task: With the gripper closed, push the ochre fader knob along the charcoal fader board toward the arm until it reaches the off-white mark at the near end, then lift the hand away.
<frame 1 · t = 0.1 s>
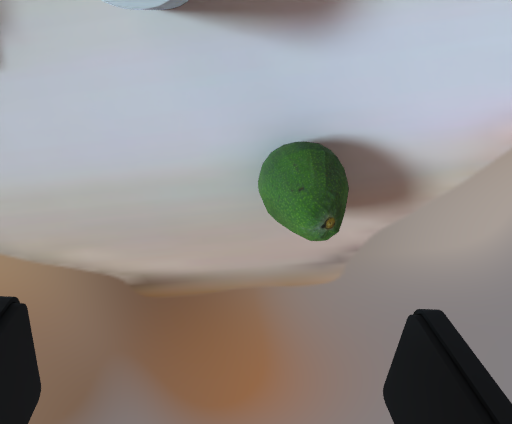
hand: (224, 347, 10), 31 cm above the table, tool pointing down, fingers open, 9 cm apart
avocado: (293, 166, 42), on the table
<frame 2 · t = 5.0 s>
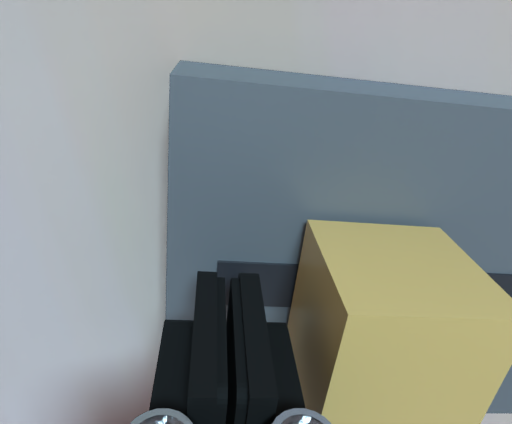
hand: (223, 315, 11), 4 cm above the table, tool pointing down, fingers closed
fader knob: (378, 339, 11), point 5 cm above the table, slide at 0.9 cm, touching gripper
fader board: (451, 246, 16), on the table
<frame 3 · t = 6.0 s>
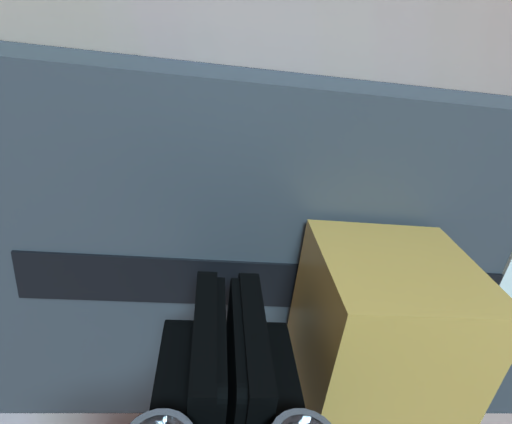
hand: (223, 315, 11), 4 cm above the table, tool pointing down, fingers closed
fader knob: (378, 339, 11), point 5 cm above the table, slide at 6.7 cm, touching gripper
fader board: (312, 239, 16), on the table
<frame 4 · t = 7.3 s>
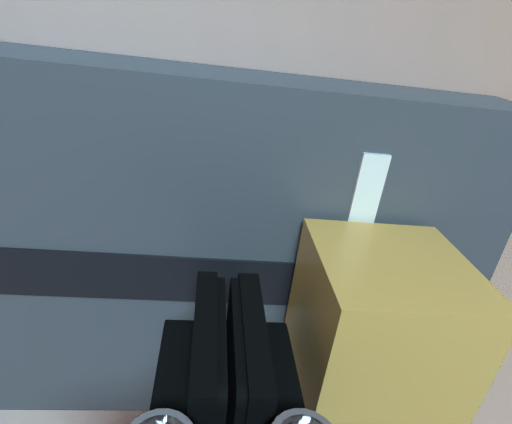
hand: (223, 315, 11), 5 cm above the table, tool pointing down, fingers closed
fader knob: (373, 336, 11), point 5 cm above the table, slide at 12.2 cm, touching gripper
fader board: (166, 230, 15), on the table
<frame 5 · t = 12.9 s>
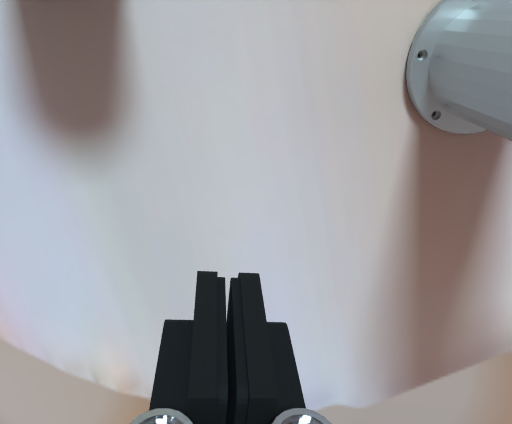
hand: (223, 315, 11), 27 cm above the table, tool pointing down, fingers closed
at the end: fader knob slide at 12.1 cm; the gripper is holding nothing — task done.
